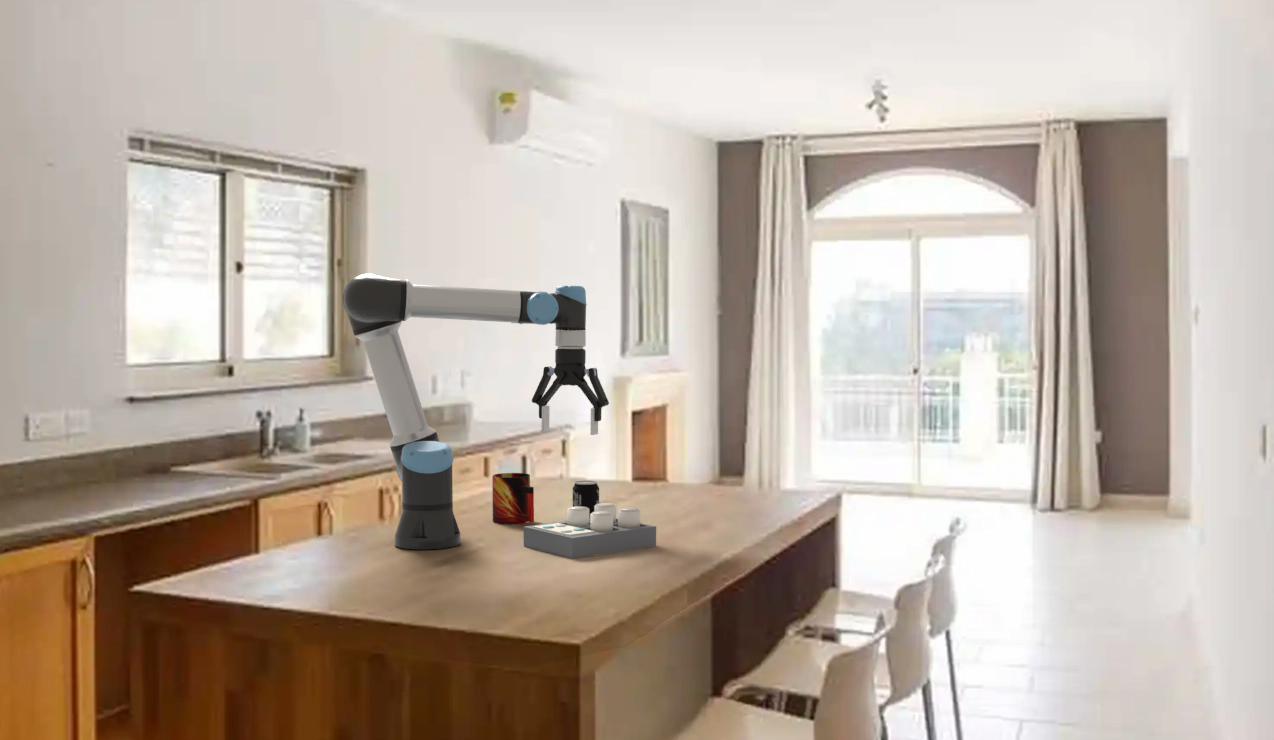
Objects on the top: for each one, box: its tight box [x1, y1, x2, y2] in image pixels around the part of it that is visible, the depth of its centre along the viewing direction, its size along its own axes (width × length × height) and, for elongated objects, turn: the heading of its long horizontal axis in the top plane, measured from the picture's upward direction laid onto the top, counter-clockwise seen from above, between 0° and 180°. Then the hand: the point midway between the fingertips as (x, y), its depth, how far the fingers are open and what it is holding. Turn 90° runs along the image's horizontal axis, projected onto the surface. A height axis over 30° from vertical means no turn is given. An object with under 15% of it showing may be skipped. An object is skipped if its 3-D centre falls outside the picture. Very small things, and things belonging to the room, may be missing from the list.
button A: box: [566, 506, 589, 527], centre depth 297 cm, size 5×5×5 cm
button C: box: [590, 511, 613, 532], centre depth 290 cm, size 5×5×5 cm
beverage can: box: [572, 480, 600, 518], centre depth 315 cm, size 7×7×12 cm
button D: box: [617, 507, 641, 529], centre depth 295 cm, size 5×5×5 cm
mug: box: [491, 472, 535, 526], centre depth 327 cm, size 10×14×12 cm
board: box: [523, 517, 657, 559], centre depth 294 cm, size 24×19×5 cm
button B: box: [594, 502, 617, 522], centre depth 302 cm, size 5×5×5 cm
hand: (569, 433), depth 317 cm, fingers open, 13 cm apart
